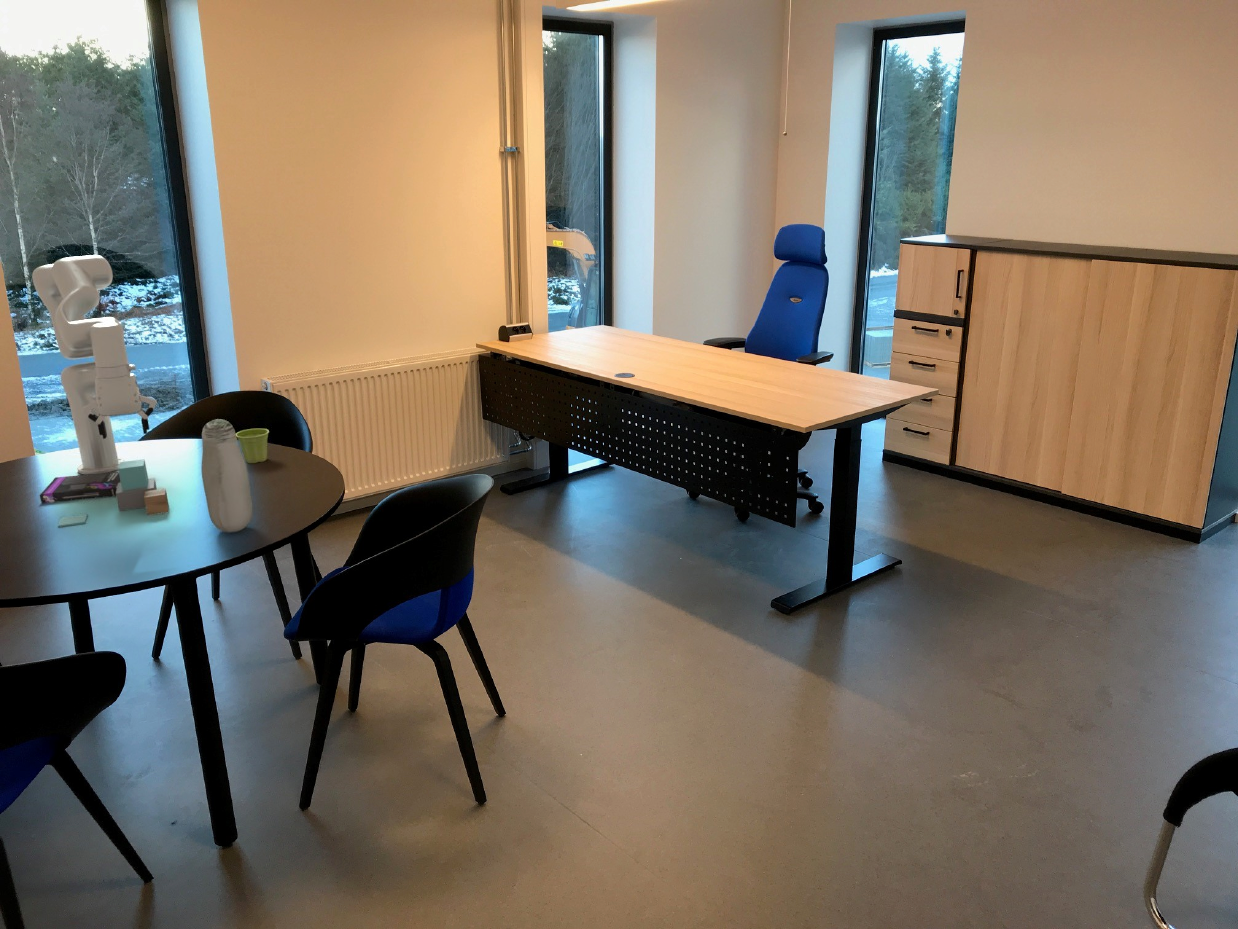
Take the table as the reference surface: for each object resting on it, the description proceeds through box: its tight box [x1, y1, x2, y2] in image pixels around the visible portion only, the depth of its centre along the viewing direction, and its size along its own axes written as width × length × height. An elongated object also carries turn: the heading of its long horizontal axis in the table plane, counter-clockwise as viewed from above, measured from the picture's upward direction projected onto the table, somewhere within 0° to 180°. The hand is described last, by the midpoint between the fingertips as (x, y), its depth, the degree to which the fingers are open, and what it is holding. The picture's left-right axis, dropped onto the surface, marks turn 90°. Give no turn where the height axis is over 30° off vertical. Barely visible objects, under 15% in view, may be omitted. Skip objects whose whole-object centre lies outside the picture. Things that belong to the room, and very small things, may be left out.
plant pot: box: [235, 428, 270, 464], centre depth 297 cm, size 9×9×9 cm
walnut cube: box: [144, 488, 170, 516], centre depth 259 cm, size 5×5×5 cm
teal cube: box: [117, 458, 149, 491], centre depth 263 cm, size 6×6×6 cm
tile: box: [57, 513, 88, 528], centre depth 254 cm, size 6×6×1 cm
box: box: [38, 471, 121, 504], centre depth 275 cm, size 14×4×20 cm
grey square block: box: [115, 477, 158, 512], centre depth 265 cm, size 9×9×5 cm
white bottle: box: [200, 418, 253, 533], centre depth 241 cm, size 10×10×28 cm
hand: (125, 434), depth 260 cm, fingers open, 9 cm apart
